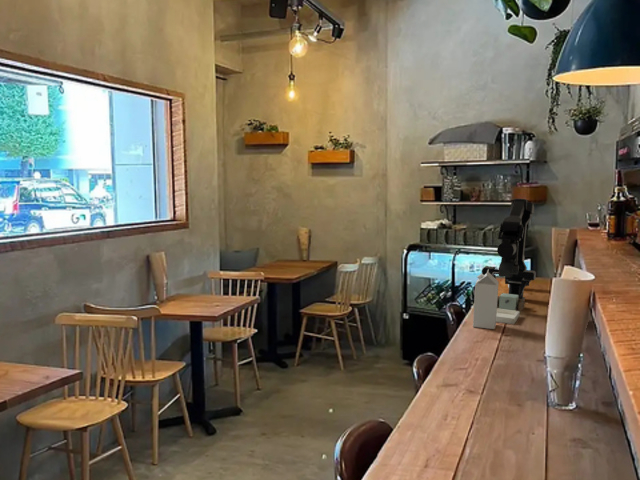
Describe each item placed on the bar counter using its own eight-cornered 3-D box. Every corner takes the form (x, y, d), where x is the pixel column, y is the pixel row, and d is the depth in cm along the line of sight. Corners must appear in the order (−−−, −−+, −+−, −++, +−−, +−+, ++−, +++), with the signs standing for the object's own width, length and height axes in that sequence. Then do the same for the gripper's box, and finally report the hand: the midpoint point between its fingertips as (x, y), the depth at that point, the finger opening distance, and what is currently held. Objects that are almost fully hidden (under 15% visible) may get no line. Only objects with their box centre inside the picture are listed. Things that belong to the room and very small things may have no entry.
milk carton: (495, 324, 208) (499, 269, 206) (494, 329, 202) (498, 273, 199) (474, 322, 211) (477, 268, 208) (472, 327, 204) (476, 271, 201)
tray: (486, 312, 225) (487, 307, 224) (519, 316, 220) (519, 311, 219) (479, 319, 214) (480, 314, 214) (513, 324, 209) (514, 318, 209)
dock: (496, 303, 239) (497, 296, 239) (524, 307, 234) (524, 299, 234) (493, 307, 233) (493, 299, 233) (521, 310, 228) (522, 303, 228)
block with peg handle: (501, 305, 237) (502, 293, 236) (517, 307, 234) (518, 294, 233) (497, 310, 229) (498, 297, 228) (514, 312, 226) (515, 299, 226)
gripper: (479, 255, 222) (477, 296, 224) (533, 259, 214) (530, 303, 216) (485, 251, 232) (483, 291, 234) (537, 255, 224) (534, 297, 226)
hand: (507, 295), depth 227 cm, fingers open, 9 cm apart
